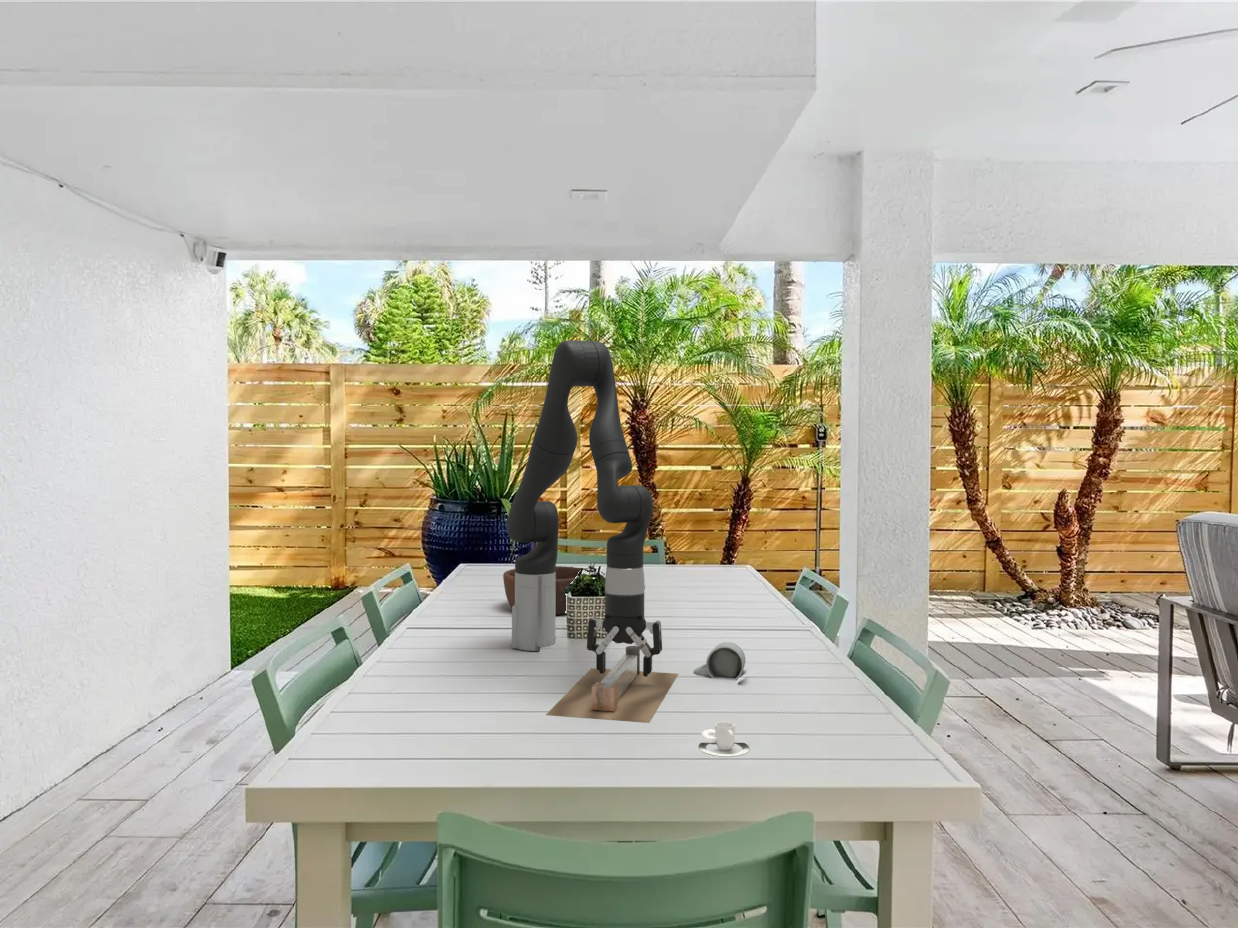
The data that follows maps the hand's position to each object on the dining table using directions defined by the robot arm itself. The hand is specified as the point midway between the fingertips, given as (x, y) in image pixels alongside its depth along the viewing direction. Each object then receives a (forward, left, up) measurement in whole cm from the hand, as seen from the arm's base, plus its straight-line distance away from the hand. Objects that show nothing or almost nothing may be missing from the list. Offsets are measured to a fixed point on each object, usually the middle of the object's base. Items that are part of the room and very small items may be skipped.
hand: (624, 674), depth 179 cm
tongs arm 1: (-1, -6, -2) cm, 6 cm away
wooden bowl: (-37, +73, -3) cm, 82 cm away
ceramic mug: (+17, +12, -3) cm, 21 cm away
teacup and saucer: (+23, -26, -4) cm, 35 cm away
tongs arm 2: (+1, -6, -2) cm, 6 cm away
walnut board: (0, -6, -3) cm, 7 cm away
